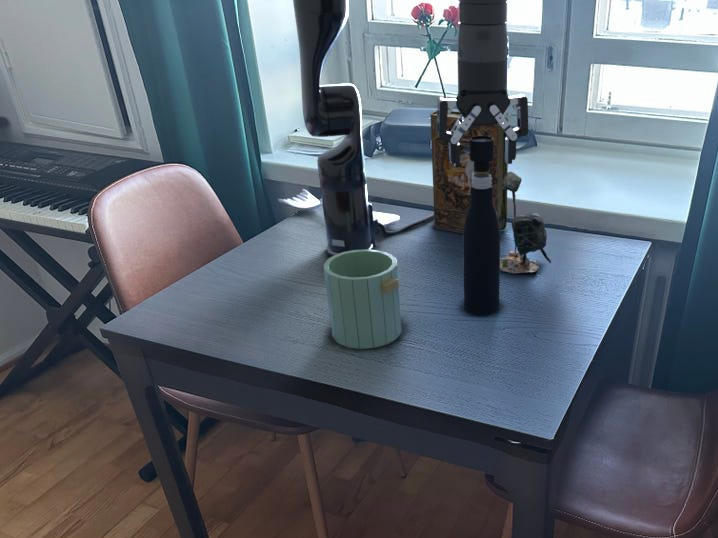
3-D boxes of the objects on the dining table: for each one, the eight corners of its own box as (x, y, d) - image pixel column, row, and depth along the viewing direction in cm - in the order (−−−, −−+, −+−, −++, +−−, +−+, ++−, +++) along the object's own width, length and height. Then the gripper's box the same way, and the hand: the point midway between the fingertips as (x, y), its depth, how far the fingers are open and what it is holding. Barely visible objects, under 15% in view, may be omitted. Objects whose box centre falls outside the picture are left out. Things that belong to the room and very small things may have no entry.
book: (431, 227, 159) (426, 114, 146) (442, 219, 164) (438, 109, 150) (496, 239, 154) (498, 122, 140) (506, 230, 158) (509, 116, 145)
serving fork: (304, 200, 175) (302, 187, 173) (408, 224, 161) (407, 210, 159) (278, 211, 169) (276, 197, 167) (383, 237, 154) (382, 222, 153)
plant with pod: (538, 282, 135) (543, 180, 124) (487, 270, 140) (488, 171, 129) (556, 267, 141) (562, 169, 130) (507, 256, 146) (509, 160, 135)
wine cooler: (363, 306, 126) (357, 242, 120) (420, 330, 119) (417, 263, 112) (313, 331, 119) (303, 264, 112) (371, 358, 111) (364, 288, 105)
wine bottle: (495, 317, 123) (497, 145, 107) (460, 313, 124) (457, 143, 108) (502, 300, 128) (505, 134, 113) (468, 297, 130) (466, 132, 114)
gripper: (522, 50, 108) (519, 155, 117) (431, 53, 106) (435, 160, 114) (535, 58, 102) (531, 168, 111) (439, 61, 100) (442, 174, 108)
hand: (482, 164), depth 113 cm, fingers open, 8 cm apart
